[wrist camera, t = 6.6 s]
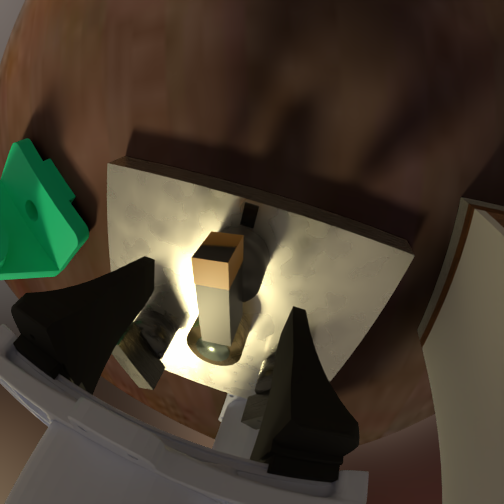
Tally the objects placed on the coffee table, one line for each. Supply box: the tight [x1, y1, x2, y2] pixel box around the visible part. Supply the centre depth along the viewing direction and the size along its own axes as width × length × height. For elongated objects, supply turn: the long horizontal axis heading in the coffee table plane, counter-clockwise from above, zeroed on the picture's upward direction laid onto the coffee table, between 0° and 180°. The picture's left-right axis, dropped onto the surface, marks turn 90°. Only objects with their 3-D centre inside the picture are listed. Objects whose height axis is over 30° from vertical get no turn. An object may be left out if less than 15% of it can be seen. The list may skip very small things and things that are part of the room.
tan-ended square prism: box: [191, 227, 269, 347], centre depth 15 cm, size 5×4×5 cm
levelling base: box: [107, 156, 415, 430], centre depth 20 cm, size 20×20×7 cm
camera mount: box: [0, 138, 89, 280], centre depth 18 cm, size 12×8×10 cm, turn 37°
